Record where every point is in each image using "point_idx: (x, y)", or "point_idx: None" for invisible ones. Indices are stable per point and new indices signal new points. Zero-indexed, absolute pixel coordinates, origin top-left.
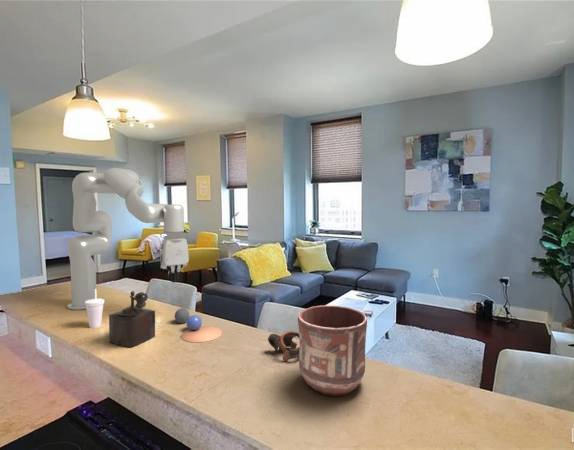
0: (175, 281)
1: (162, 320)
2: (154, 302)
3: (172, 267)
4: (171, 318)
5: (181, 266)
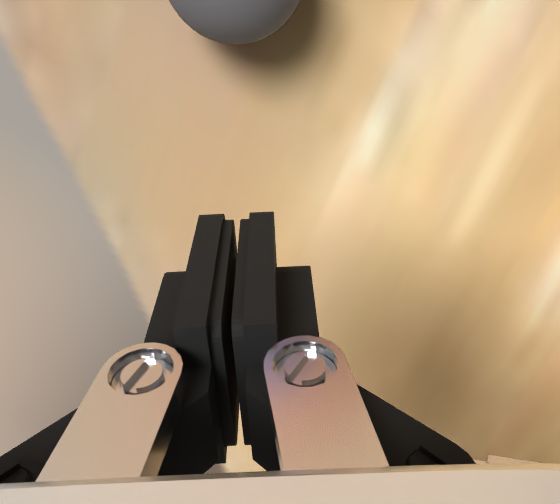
0: (251, 216)
1: (343, 127)
2: (238, 468)
3: (329, 453)
4: (269, 127)
5: (14, 480)
